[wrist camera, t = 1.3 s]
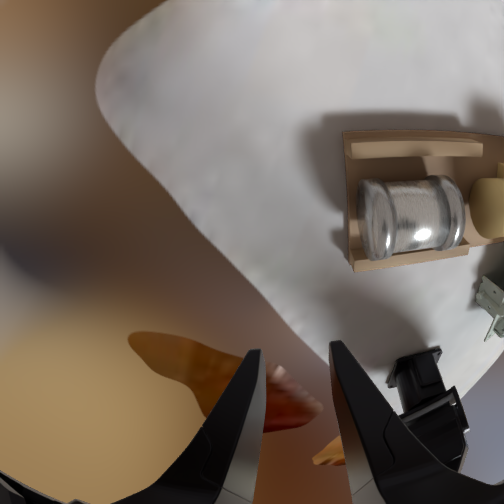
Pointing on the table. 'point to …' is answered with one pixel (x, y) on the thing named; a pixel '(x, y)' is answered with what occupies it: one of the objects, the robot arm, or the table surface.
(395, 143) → the wooden channel tray
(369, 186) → the cylinder
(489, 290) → the metal bracket
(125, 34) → the table surface
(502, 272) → the table surface
